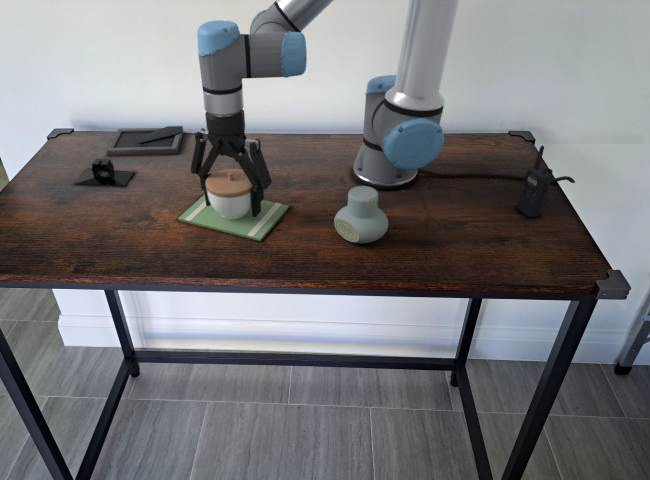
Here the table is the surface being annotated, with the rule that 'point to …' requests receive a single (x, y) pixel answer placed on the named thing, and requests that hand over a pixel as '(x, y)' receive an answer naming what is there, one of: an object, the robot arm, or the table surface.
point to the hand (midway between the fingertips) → (233, 208)
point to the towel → (242, 226)
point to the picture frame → (146, 141)
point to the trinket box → (229, 193)
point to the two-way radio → (535, 188)
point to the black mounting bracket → (104, 175)
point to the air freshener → (361, 217)
